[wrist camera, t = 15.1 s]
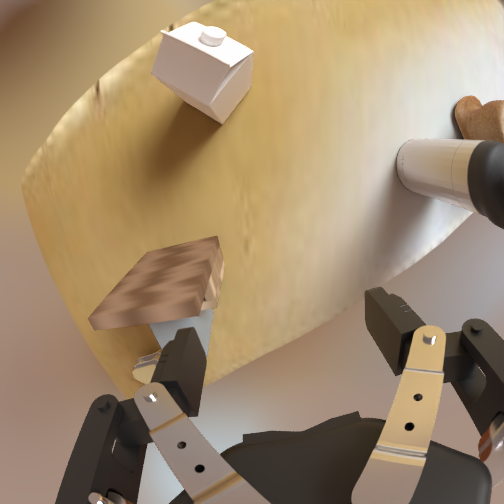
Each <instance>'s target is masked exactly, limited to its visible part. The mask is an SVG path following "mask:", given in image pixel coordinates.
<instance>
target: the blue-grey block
mask: <svg viewBox="0 0 504 504" xmlns="http://www.w3.org/2000/svg"><path fill="white" fill-rule="evenodd" d="M213 314H214V312H213V309H212V308H211V309H206V310H201V311H200V314H199V316H195V317H189V318H183V319H177V320H170V321H164V322H157V323H150V324H149V326H150V328H151V330H152V332H153V333H154V335H155V337H156V339H157V341H158V343H159V345H160V346H161V348H162V349H163V347H164V346H165V345H166V344H167V343H168V342H169V341H170V340H174V338H175V335H176V332H177V330H178V329H182V328H189V327H194V328H195V330H196V332H197V334H198V337H199V339H200V342H201V344H202V346H203V349H204V351H205V354H206V357H207V356H208V349H209V341H210V334H211V327H212V320H213Z"/></svg>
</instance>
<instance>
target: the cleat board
mask: <svg viewBox="0 0 504 504" xmlns="http://www.w3.org/2000/svg"><path fill="white" fill-rule="evenodd" d="M224 268H225V263H224V259H223V256H222V252H221V248H220V245H219V241H218V237H217V236H214V237H209V238H205V239H201V240H196V241H192V242H188V243H184V244H179V245H175V246H171V247H167V248H163V249H159V250H155V251H151V252H147V253H146V254H145V255H144V256H143V257H142V258H141V259H140V260H139V261H138V262H137V264H136V265H135V266H134V267H133V268H132V269H131V270H130V271H129V272H128V273H127V274H126V275H125V276H124V278H123V279H122V280H121V281H120V282H119V283H118V284H117V285H116V286H115V288H114V289H113V290H112V291H111V292H110V293H109V294H108V296H107V297H106V298H105V299H104V300H103V301H102V302H101V304H100V305H99V306H98V307H97V308H96V309H95V311H94V312H93V313H92V314H91V315H90V317H89V318H88V320H89V321H90V323H91V325H92V327H93V329H94V330H103V329H112V328H120V327H128V326H136V325H143V324H150V323H157V322H164V321H170V320H177V319H183V318H189V317H195V316H199V314H200V311H201V310H206V309H211V308H217V305H218V300H219V294H220V289H221V283H222V278H223V273H224Z"/></svg>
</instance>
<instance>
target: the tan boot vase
mask: <svg viewBox="0 0 504 504" xmlns="http://www.w3.org/2000/svg"><path fill="white" fill-rule="evenodd" d="M455 117H456V120H457V123H458V126H459V129H460V131H461V133H462V136H463V138H464V140H486V141H497V142H501V143H503V144H504V100H496V101H491V102H488V103H486V104H485V105H483V106H482V104H481V103H480V101H479V100H478V99H477V98H476V97H475V96H466V97H463V98H462V99H460V100H459V101H458V103H457V107H456V108H455Z"/></svg>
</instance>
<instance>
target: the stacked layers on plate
mask: <svg viewBox="0 0 504 504" xmlns="http://www.w3.org/2000/svg"><path fill="white" fill-rule="evenodd" d="M161 352H162V350H161V349H159V350H158V351H156V352H155V353H153V354H150V355H147V356H143V357H140V358H139V359H138V360H137V363H138V364H137V365H135V366H134V370H133V371H132V374H133V376H134V378H135V379H136V380H138V381H140V382H142V383H144V384H148V383H150V381H151V379H152V376H153V373H154V371H155V368H156V365H157V363H158V360H159V357H160V355H161Z"/></svg>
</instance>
